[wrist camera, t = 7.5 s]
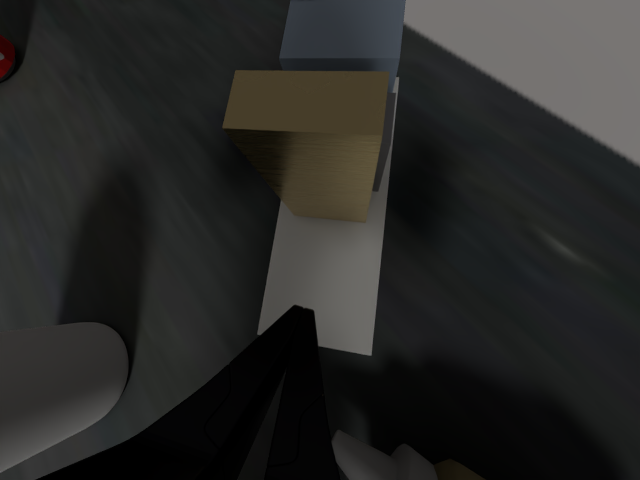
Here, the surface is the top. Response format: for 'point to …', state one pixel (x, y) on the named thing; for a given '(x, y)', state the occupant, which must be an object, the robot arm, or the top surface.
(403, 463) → the squeeze bottle
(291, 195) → the tube
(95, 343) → the pill bottle
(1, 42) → the soda can
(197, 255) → the top surface
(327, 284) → the board
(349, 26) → the socket
